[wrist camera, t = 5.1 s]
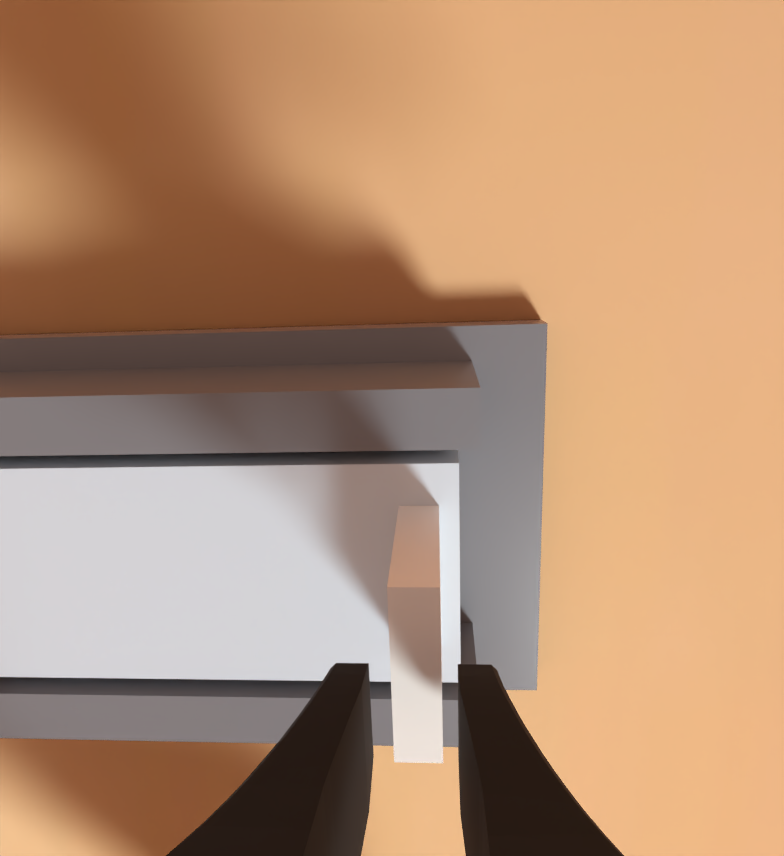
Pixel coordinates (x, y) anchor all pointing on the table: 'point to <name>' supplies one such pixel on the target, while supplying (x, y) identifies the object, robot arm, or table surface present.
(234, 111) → the table surface
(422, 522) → the cartridge
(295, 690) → the housing
